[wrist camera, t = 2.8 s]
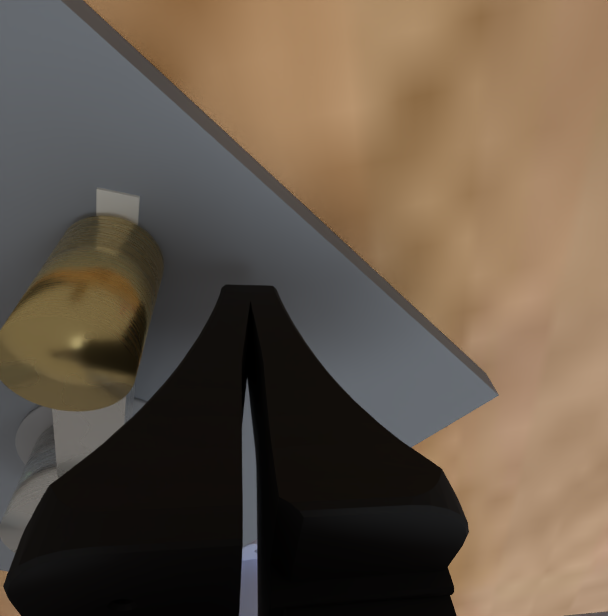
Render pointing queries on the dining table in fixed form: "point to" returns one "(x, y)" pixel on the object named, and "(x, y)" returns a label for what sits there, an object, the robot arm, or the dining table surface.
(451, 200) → the dining table surface
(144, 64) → the stand base
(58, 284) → the lever
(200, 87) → the dining table surface
